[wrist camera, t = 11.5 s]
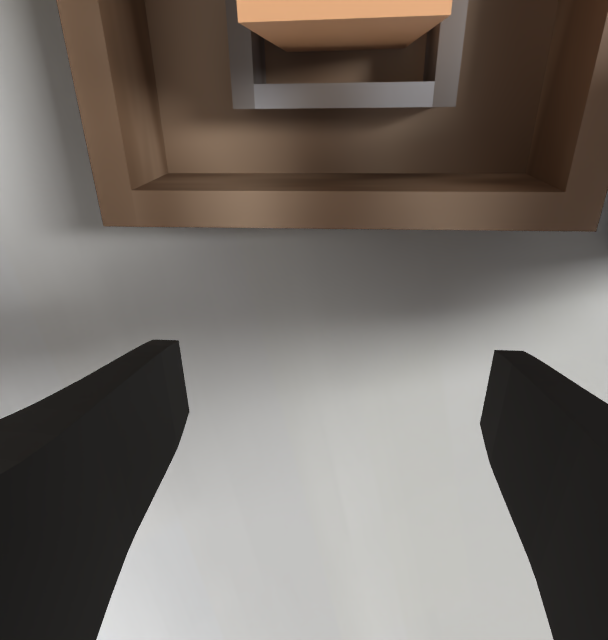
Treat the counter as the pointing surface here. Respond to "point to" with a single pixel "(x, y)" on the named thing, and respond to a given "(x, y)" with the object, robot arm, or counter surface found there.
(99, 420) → the robot arm
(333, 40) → the peach plain square-edged block
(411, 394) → the counter surface
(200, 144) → the walled box
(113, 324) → the counter surface
